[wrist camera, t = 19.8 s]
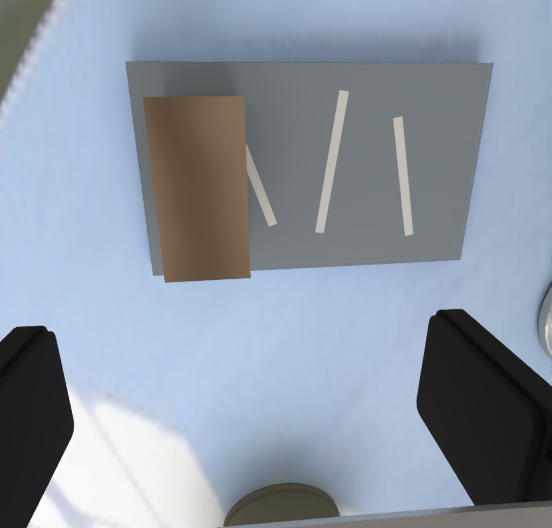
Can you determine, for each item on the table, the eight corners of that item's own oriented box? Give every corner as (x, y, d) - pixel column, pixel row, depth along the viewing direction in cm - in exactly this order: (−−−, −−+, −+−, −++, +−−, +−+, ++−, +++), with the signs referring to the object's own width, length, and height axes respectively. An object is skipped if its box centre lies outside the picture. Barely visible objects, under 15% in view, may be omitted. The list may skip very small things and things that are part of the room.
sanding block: (239, 98, 24) (244, 96, 18) (245, 242, 27) (250, 277, 22) (162, 99, 23) (142, 97, 18) (177, 246, 27) (164, 282, 21)
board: (479, 65, 26) (493, 63, 25) (449, 252, 31) (460, 259, 30) (131, 64, 24) (125, 61, 22) (156, 267, 29) (153, 275, 27)
